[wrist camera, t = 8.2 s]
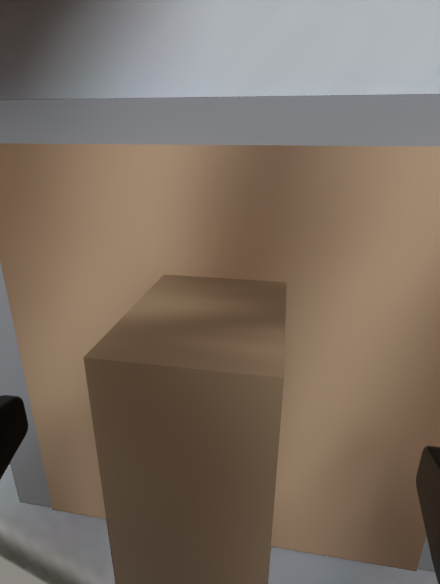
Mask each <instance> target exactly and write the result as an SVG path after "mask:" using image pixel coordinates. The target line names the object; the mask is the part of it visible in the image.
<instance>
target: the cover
mask: <svg viewBox="0 0 440 584" xmlns="http://www.w3.org/2000/svg"><path fill="white" fill-rule="evenodd" d="M0 263H1V267H2V272H3V277H4V282H5V286H6V291H7V296H8V300H9V305H10V310H11V315H12V319H13V324H14V329H15V334H16V338H17V343H18V348H19V353H20V357H21V362H22V367H23V372H24V376H25V381H26V386H27V390H28V395H29V400H30V405H31V409H32V414H33V419H34V424H35V428H36V433H37V438H38V443H39V447H40V452H41V457H42V462H43V466H44V471H45V476H46V480H47V485H48V490H49V495H50V499H51V504H52V509H53V510H58V511H63V512H69V513H75V514H81V515H87V516H93V517H99V518H105V519H106V520H107V527H108V534H109V541H110V548H111V555H112V562H113V569H114V576H115V583H116V584H268V576H269V563H270V551H271V547H276V548H282V549H288V550H294V551H300V552H306V553H312V554H318V555H324V556H330V557H335V558H341V559H347V560H353V561H359V562H365V563H371V564H377V565H383V566H389V567H395V568H401V569H406V570H412V571H417V567H418V564H419V560H420V557H421V553H422V550H423V546H424V543H425V540H426V536H427V535H426V530H425V526H424V521H423V516H422V512H421V507H420V502H419V498H418V493H417V488H416V475H417V471H418V467H419V463H420V459H421V455H422V451H423V449H424V447H426V446H436V447H440V146H302V145H161V144H20V143H0Z"/></svg>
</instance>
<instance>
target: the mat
mask: <svg viewBox="0 0 440 584" xmlns="http://www.w3.org/2000/svg"><path fill="white" fill-rule="evenodd" d="M0 143H20V144H161V145H302V146H440V94H404V95H330V96H256V97H182V98H107V99H33V100H0ZM2 395H12V396H19V397H21V398H22V400H23V402H24V406H25V411H26V415H27V420H28V431H27V434H26V436H25V438H24V439H23V441H22V443H21V445H20V446H19V448H18V450H17V451H16V453H15V455H14V457H13V458H12V460H11V462H10V464H11V468H12V472H13V476H14V480H15V484H16V488H17V492H18V496H19V500H20V502H22V503H28V504H34V505H40V506H46V507H52V504H51V499H50V495H49V490H48V485H47V480H46V476H45V471H44V466H43V462H42V457H41V452H40V447H39V443H38V438H37V433H36V428H35V424H34V419H33V414H32V409H31V405H30V400H29V395H28V390H27V386H26V381H25V376H24V372H23V367H22V362H21V357H20V353H19V348H18V343H17V338H16V334H15V329H14V324H13V319H12V315H11V310H10V305H9V300H8V296H7V291H6V286H5V282H4V277H3V272H2V267H1V263H0V396H2ZM417 569H422V570H428V571H434V572H435V570H434V566H433V562H432V558H431V554H430V549H429V544H428V540H427V536H426V540H425V543H424V546H423V550H422V553H421V557H420V560H419V564H418V567H417Z"/></svg>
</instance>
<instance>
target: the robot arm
mask: <svg viewBox="0 0 440 584" xmlns="http://www.w3.org/2000/svg"><path fill="white" fill-rule="evenodd" d="M27 431H28V420H27V415H26V411H25V406H24V402H23V400H22V398H21V397H19V396H12V395H2V396H0V479H1V477H2V476H3V474H4V472H5V470H6V469H7V467H8V465H9V464H10V462H11V460H12V458H13V457H14V455H15V453H16V451H17V450H18V448H19V446H20V445H21V443H22V441H23V439H24V438H25V436H26V434H27ZM416 488H417V493H418V498H419V502H420V507H421V512H422V516H423V521H424V526H425V530H426V535H427V540H428V544H429V549H430V554H431V558H432V562H433V566H434V570H435V574H436V577H437V580H438V584H440V447H436V446H426V447H424V449H423V451H422V455H421V459H420V463H419V467H418V471H417V475H416Z"/></svg>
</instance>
